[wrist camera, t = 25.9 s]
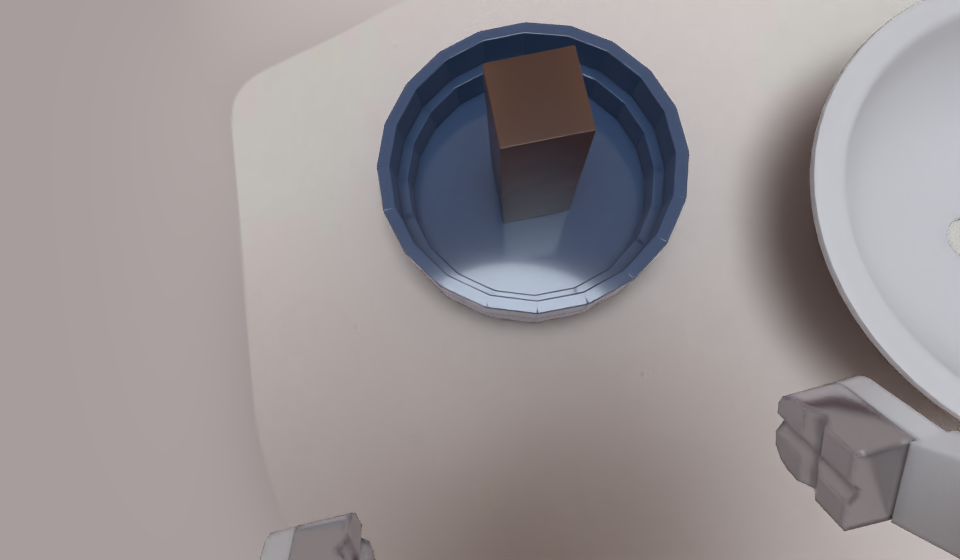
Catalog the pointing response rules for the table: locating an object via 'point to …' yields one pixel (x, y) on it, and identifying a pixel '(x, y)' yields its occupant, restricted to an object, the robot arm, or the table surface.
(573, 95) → the block
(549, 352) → the table surface
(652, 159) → the bowl
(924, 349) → the white sink basin
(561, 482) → the table surface
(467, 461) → the table surface
